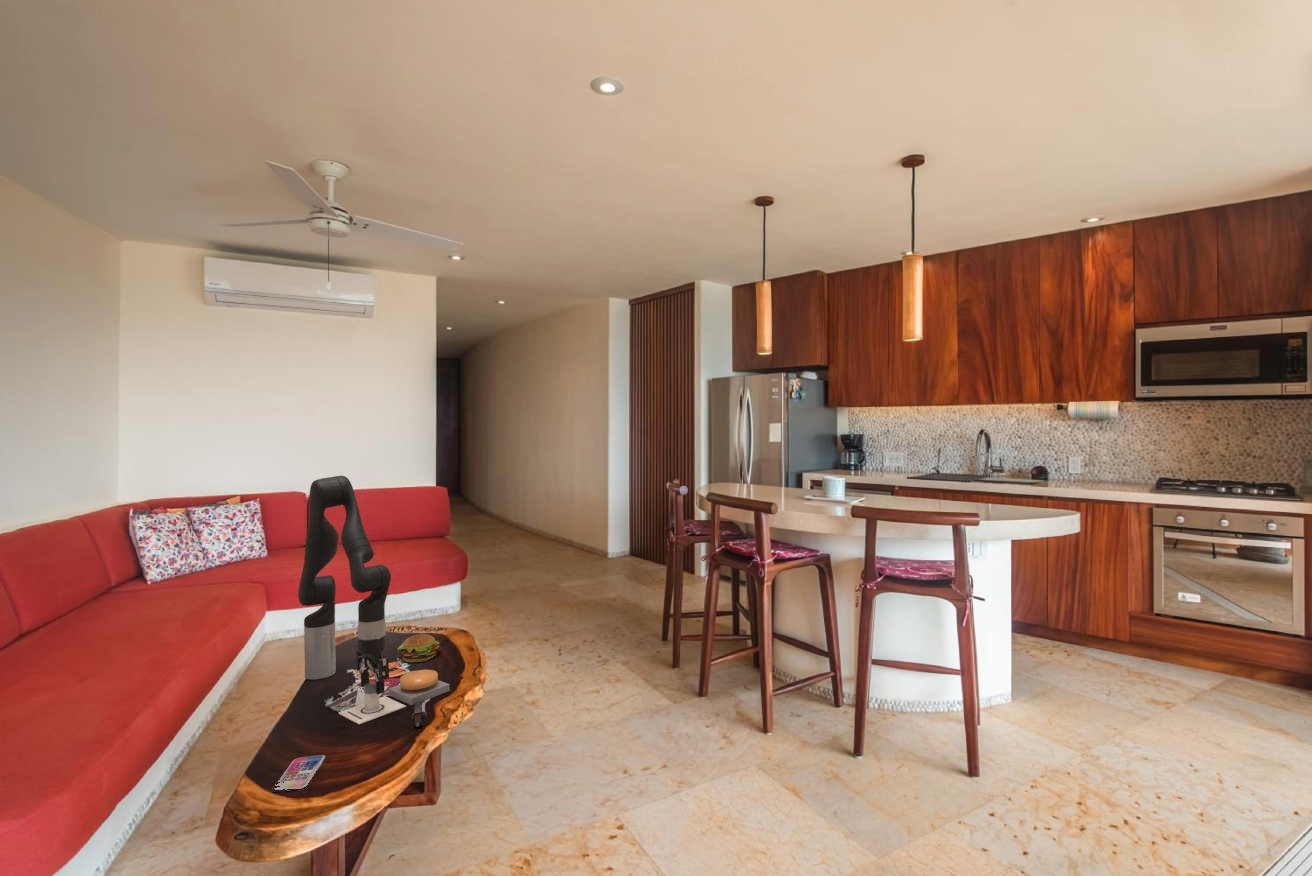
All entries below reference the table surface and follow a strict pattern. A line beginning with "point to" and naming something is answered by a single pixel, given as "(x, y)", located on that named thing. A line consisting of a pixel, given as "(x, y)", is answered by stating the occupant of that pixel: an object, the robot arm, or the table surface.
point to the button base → (418, 692)
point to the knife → (419, 712)
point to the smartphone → (300, 772)
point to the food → (419, 648)
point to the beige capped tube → (371, 697)
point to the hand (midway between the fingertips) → (372, 689)
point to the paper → (362, 716)
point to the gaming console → (361, 696)
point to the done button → (418, 679)
